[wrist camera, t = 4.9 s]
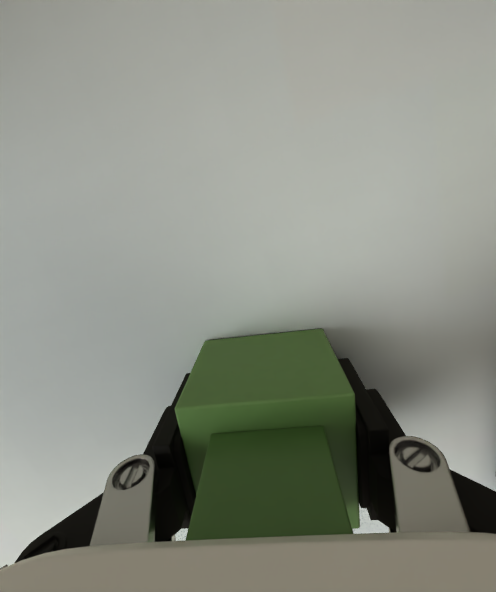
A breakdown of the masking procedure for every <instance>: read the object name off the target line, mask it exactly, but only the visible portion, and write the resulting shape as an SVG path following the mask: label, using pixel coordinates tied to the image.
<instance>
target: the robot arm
mask: <svg viewBox="0 0 496 592" xmlns="http://www.w3.org/2000/svg"><path fill="white" fill-rule="evenodd" d="M338 361H339V363H340V365H341V367H342V369H343V371H344V373H345V375H346V377H347V379H348V381H349V383H350V385H351V387H352V389H353V391H354V393H355V410H356V437H357V465H358V492H359V504H360V506H361V508H367V510H368V513H369V516H370V519H371V520H379V521H380V522H382V523H383V524H385V525H386V526H388V527H389V533H368V534H338V535H309V536H283V537H257V538H233V539H209V540H188V541H176V538H175V534H176V533H177V532H178V531H179V530H180V529H181V528H189V524H190V520H191V516H192V511H193V507H194V503H195V499H196V493H195V489H194V485H193V481H192V477H191V473H190V469H189V465H188V461H187V457H186V453H185V449H184V445H183V441H182V437H181V433H180V429H179V425H178V421H177V417H176V413H175V407H176V404H177V402H178V400H179V398H180V395H181V393H182V391H183V389H184V387H185V384H186V382H187V380H188V378H189V375H190V373H187V374H186V375H185V377H184V380H183V382H182V384H181V386H180V388H179V390H178V392H177V394H176V397H175V399H174V401H173V403H172V405H171V406H168V407H167V408H166V409H165V411H164V413H163V415H162V417H161V419H160V421H159V423H158V425H157V427H156V429H155V431H154V433H153V435H152V437H151V439H150V441H149V443H148V445H147V447H146V449H145V451H144V453H143V454H140V455H134V456H132V457H129V458H127V459H125V460H124V461H122V462H121V463H119V464H118V465H117V466H116V467H115V468H114V469H113V470H112V472H111V473H110V475H109V477H108V479H107V482H106V486H105V490H104V493H102V494H101V495H99V496H98V497H96V498H95V499H93V500H92V501H90V502H89V503H88V504H86V505H85V506H83V507H82V508H80V509H79V510H77V511H76V512H74V513H73V514H71V515H70V516H68V517H67V518H65V519H64V520H62V521H61V522H59V523H58V524H57V525H55V526H54V527H52V528H51V529H49V530H48V531H46V532H45V533H43V534H42V535H40V536H39V537H38V538H36V539H35V540H34V541H33V542H31V543H30V544H29V545H28V546H27V547H26V549H25V550H24V551H23V552H22V553H21V554H20V556H19V557H18V559H17V560H16V562H15V563H14V564H12V565H10V566H8V565H5V566H3V567H2V568H0V592H496V492H495V491H493V490H491V489H489V488H487V487H485V486H483V485H481V484H479V483H477V482H475V481H473V480H470V479H468V478H466V477H464V476H462V475H460V474H458V473H456V472H454V471H452V470H450V469H449V467H448V464H447V461H446V458H445V457H444V455H443V453H442V452H441V451H440V450H439V449H438V448H437V447H436V446H434V445H433V444H431V443H430V442H428V441H426V440H423V439H421V438H417V437H413V436H406V435H405V434H404V432H403V430H402V429H401V427H400V426H399V424H398V422H397V421H396V419H395V418H394V416H393V415H392V413H391V411H390V410H389V408H388V407H387V405H386V403H385V402H384V400H383V399H382V397H381V395H380V394H379V392H378V391H377V390H376V389H366V388H365V387H364V385H363V383H362V381H361V380H360V378H359V376H358V374H357V372H356V371H355V369H354V367H353V365H352V364H351V362H350V360H349V359H348V358H344V359H338Z"/></svg>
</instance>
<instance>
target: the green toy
mask: <svg viewBox="0 0 496 592" xmlns="http://www.w3.org/2000/svg"><path fill="white" fill-rule="evenodd" d="M175 413H176V417H177V421H178V425H179V429H180V433H181V437H182V441H183V445H184V449H185V453H186V457H187V461H188V465H189V469H190V473H191V477H192V481H193V485H194V489H195V493H196V499H195V503H194V507H193V511H192V516H191V520H190V524H189V528H188V533H187V537H186V541H188V540H209V539H233V538H257V537H283V536H309V535H338V534H353V531H352V529H353V528H359V527H360V520H359V492H358V465H357V437H356V410H355V393H354V391H353V389H352V387H351V385H350V383H349V381H348V379H347V377H346V375H345V373H344V371H343V369H342V367H341V365H340V363H339V361H338V359H337V357H336V355H335V353H334V351H333V349H332V347H331V345H330V343H329V341H328V339H327V337H326V335H325V333H324V331H323V329H313V330H303V331H293V332H284V333H274V334H265V335H255V336H246V337H236V338H226V339H217V340H207V341H205V342H204V344H203V346H202V348H201V351H200V353H199V355H198V357H197V360H196V362H195V364H194V366H193V369H192V371H191V373H190V375H189V378H188V380H187V382H186V384H185V387H184V389H183V391H182V393H181V395H180V398H179V400H178V402H177V404H176V407H175Z"/></svg>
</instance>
